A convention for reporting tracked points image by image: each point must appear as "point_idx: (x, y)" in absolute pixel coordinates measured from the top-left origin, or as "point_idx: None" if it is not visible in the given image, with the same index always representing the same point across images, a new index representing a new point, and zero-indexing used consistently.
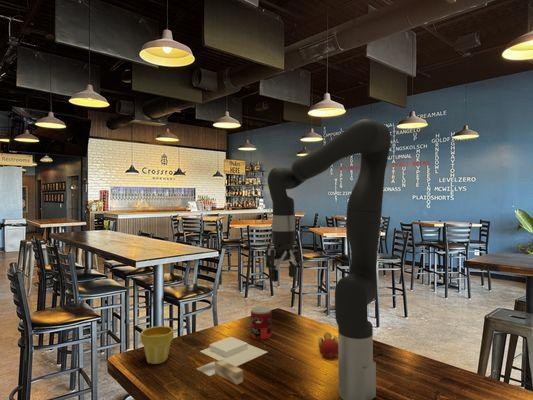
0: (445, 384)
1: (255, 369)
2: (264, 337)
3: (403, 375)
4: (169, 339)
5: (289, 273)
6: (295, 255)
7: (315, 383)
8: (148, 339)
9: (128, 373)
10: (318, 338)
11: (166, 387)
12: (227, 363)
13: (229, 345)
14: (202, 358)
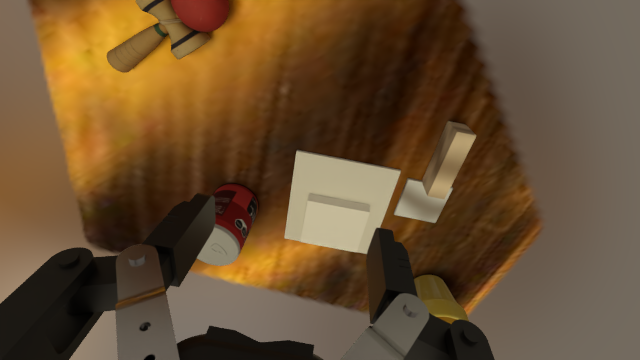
0: None
1: (379, 132)
2: (245, 191)
3: None
4: (437, 303)
5: (205, 237)
6: (44, 344)
7: None
8: None
9: (486, 289)
10: (187, 52)
11: (511, 223)
12: (439, 176)
13: (339, 222)
14: None
